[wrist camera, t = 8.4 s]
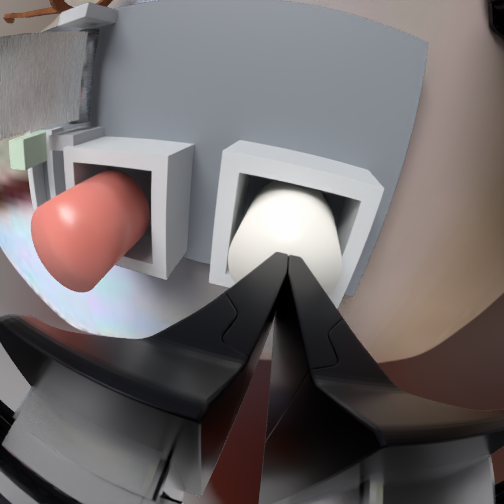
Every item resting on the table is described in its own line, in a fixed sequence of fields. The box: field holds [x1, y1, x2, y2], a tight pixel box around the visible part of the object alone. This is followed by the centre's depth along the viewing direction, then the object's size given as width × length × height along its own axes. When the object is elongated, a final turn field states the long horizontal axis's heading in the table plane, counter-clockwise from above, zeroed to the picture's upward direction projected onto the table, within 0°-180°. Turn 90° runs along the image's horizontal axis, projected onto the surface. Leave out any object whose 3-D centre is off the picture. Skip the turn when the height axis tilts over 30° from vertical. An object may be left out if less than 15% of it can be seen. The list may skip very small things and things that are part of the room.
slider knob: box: [9, 129, 50, 170], centre depth 12 cm, size 2×2×3 cm
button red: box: [31, 170, 150, 292], centre depth 10 cm, size 4×4×4 cm
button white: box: [228, 180, 342, 295], centre depth 11 cm, size 4×4×4 cm
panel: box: [26, 0, 429, 309], centre depth 12 cm, size 22×14×5 cm, turn 81°
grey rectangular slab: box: [0, 28, 100, 140], centre depth 7 cm, size 1×5×8 cm, turn 170°
